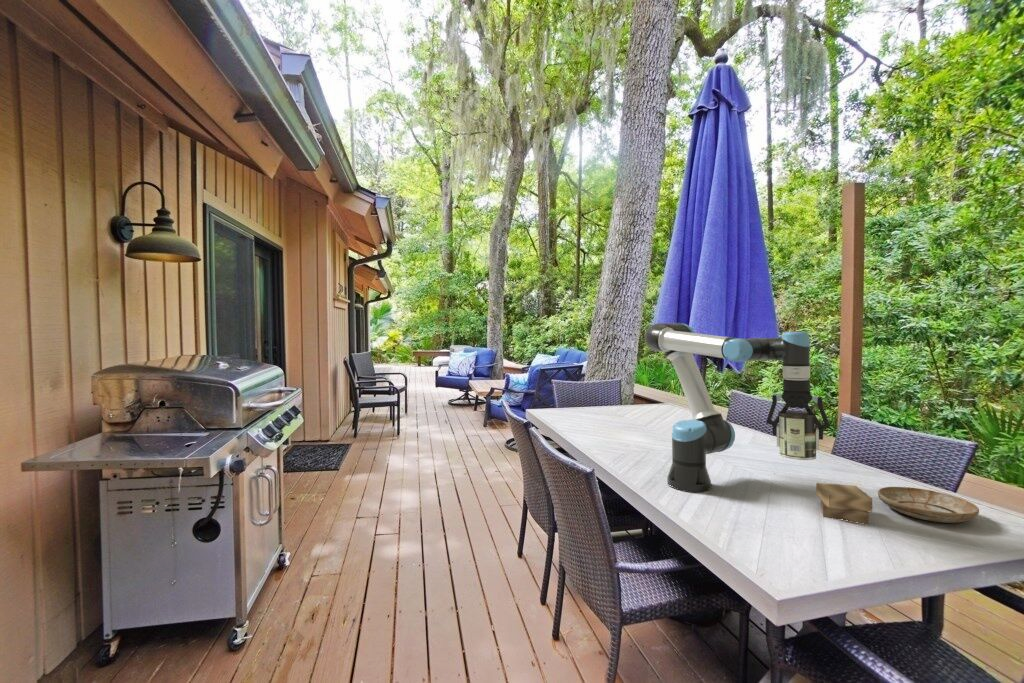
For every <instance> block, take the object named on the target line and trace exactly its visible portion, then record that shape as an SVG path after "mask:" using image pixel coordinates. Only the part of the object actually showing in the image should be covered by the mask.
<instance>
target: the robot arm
mask: <svg viewBox="0 0 1024 683" xmlns="http://www.w3.org/2000/svg"><path fill="white" fill-rule="evenodd" d="M644 342H645V345H646V346H647V347H648V348H649V349H650V350H652V351H654V352H664V354H665V357H666V359H667V360H669V361H671V362H672V365H673V367H674V370H675V372H676V375H677V378H678V380H679V383H680V386H681V389H682V391H683V394H684V396H685V399H686V402H687V404H688V407H689V410H690V412H691V416H692V418H691V419H688V420H687V419H685V420H684V419H683V420H681V421H677V422H675V423H674V424H673V426H672V432H671V445H672V446H671V448H672V449H671V451H672V452H671V455H672V456H671V457H672V458H671V459H672V460H671V461H672V462H671V466H670V469H669V472H668V475H667V476H666V479H667V480H666V482H668V483H667V485H668V484H669V485H671V486H673V487H675V488H678V489H681V490H680V491H682V490H685V491H684V492H688V491H691V492H692V493H703V492H708V491H710V490H711V488H712V481H711V478H710V474H709V472H708V469H707V455H710V454H715V453H720V452H724V451H726V450H729V449H730V448H731V447H732V446H733V445H734V442H735V439H736V432H735V428H734V426H733V425H732V424H731V423H730V422H729V421H727V420H725V419H724V418H723V415H722V413H721V412H719V411H717V410H716V409H715V407H714V404H713V402H712V399H711V397H710V394H709V392H708V389H707V386H706V383H705V380H704V378H703V377H702V373H701V371H700V368H699V366H698V364H697V360H696V358H695V354H696V355H700V356H706V357H707V356H708V357H711V358H712V357H713V358H719V359H726V360H728V361H729V362H732V363H733V362H735V363H742V362H750V361H751V362H752V361H753V362H754V361H782V378H784V379H783V380H782V394H775V393H774V394H772V395H771V398H772V403H771V405H770V408H769V412H768V415H767V418H766V420H765V421H766V424H767V425H770V426H772V435H773V436H776V447H778V448H780V441H779V414H777V416H776V417H775V419H774V420H772V419H773V415H774V412H775V409H776V406H777V403H778V402H780V399H782V400H783V401H784V403H785V404H784V405H783V407H782V408H781V410H780V413H785V412H786V411H789V409H790V408H791V409H795V408H798V409H804V410H805V411H806V412H808V414H809V415H812V414H813V415H814V413H815V412H814V411H813V410H812V409H811V407H810V405H809V404H810V403H811V401H814V403H815V404H817V408H818V410H819V413H820V415H821V418H822V421H823V423H821V422H820V420H819V418H818V417H817V415H816V416H815V425H816V427H815V428H816V451H819V450H820V440H824V430H825V429H829V428H831V424H830V422H829V420H828V417H827V413H826V412H825V409H824V406H823V397H822V395H819V396H814V395H812V394H811V380H809V379H810V378H811V364H810V357H811V356H810V355H811V354H810V353H811V352H810V351H811V349H810V348H811V344H810V343H811V342H810V334H809V333H808V332H806V331H784V332H782V334H781V337H776V338H775V337H754V338H753V337H752V338H740V337H731V336H721V335H715V334H714V335H712V334H705V333H696V332H695V330H694V329H693V328H692V327H691V326H690V325H689V324H686V323H682V322H673V323H671V322H669V323H665V322H664V323H662V322H657V323H654V324H652V325H650V326H649V327H648V328H647V329H646V330H645V333H644ZM669 485H668V486H669ZM671 486H670V487H671ZM673 487H672V488H673ZM675 488H674V489H675ZM678 489H677V490H678ZM691 492H690V493H691Z"/></svg>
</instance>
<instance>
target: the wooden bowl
mask: <svg viewBox="0 0 1024 683" xmlns="http://www.w3.org/2000/svg"><path fill="white" fill-rule="evenodd" d="M877 497H878V498H879V499H880V500H881V502H882V503H884V504H885V505H886V506H888V507H889V508H891V509H892V510H895V511H897V512H899V513H901V514H904V515H906V516H908V517H909V516H910V517H912V518H916V519H919V520H924V521H929V522H935V523H944V524H945V523H947V524H950V523H951V524H952V523H962V522H963V523H964V522H967V521H970V520H973V519H975V518H976V517H977V516H978V515H979V513H980V508H979V507H978V506H977V505H976V504H975V503H973V502H971V501H969V500H966V499H964V498H961V497H958V496H954V495H952V494H948V493H944V492H939V491H935V490H931V489H924V488H920V487H919V488H917V487H908V486H907V487H906V486H885V487H881V488H879V489H878V491H877Z"/></svg>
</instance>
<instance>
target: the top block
mask: <svg viewBox="0 0 1024 683" xmlns="http://www.w3.org/2000/svg"><path fill="white" fill-rule="evenodd" d="M815 487H816V489H815V495H816V496H817V497H818V498H819V500H820V501H821V500H822V501H823V502H824V503H825V504H826V505H827V506H828V507H829V508H838V509H849V510H859V511H868V512H873V497H871V496H870V495H869V494H867V493H866V492H865V491H863V490H862V489H861V488H859V487H858V486H857V485H850V484H849V485H848V484H836V483H826V482H825V483H823V482H816V484H815Z"/></svg>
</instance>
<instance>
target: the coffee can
mask: <svg viewBox="0 0 1024 683" xmlns="http://www.w3.org/2000/svg"><path fill="white" fill-rule="evenodd" d="M780 411H781V410H780ZM780 411H778V414H779V422H778V425H779V441H780V447H779V455H780V456H782V457H783V458H786V459H792V460H798V461H799V460H800V461H812V460H816V459H817V450H816V428H817V425H816V424H815V416H816V417H817V413H815V412H813V413H814V415H813V414H812V415H809V414H808V412H807V411H806V410H805V411H804V410H787V411H786V412H785V413H780ZM778 414H777V415H778Z"/></svg>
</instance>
